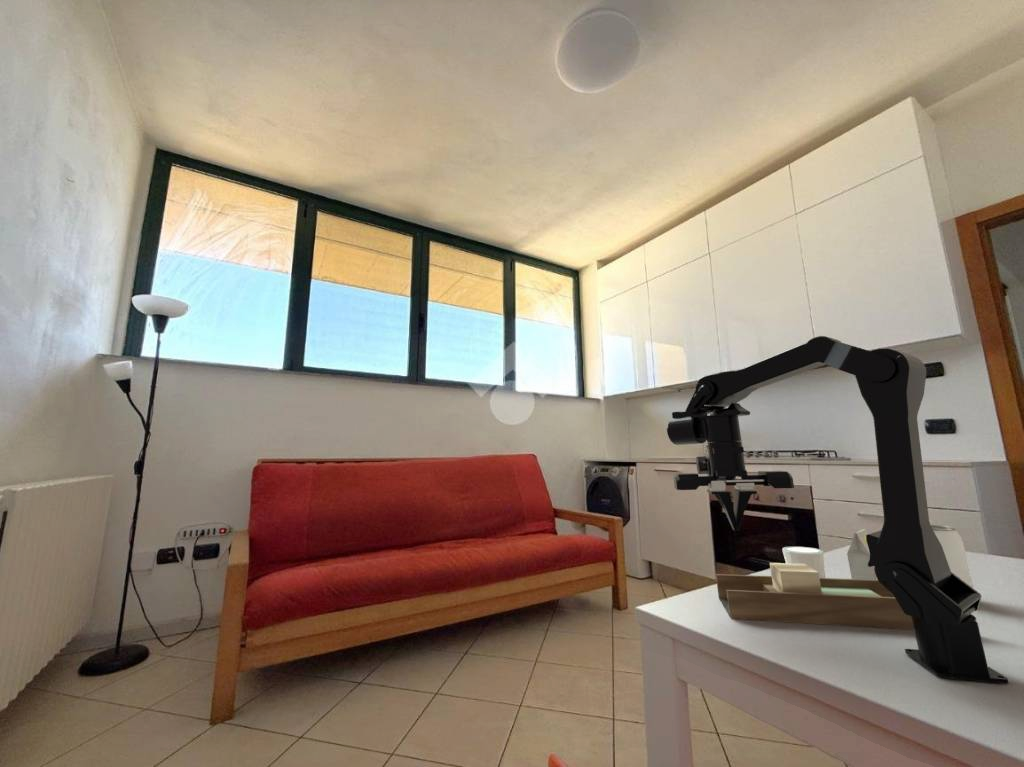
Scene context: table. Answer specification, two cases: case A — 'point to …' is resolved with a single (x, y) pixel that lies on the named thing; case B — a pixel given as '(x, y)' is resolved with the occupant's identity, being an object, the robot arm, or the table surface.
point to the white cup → (806, 557)
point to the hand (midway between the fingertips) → (736, 530)
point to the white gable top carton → (860, 557)
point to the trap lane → (813, 602)
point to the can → (954, 552)
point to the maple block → (795, 578)
